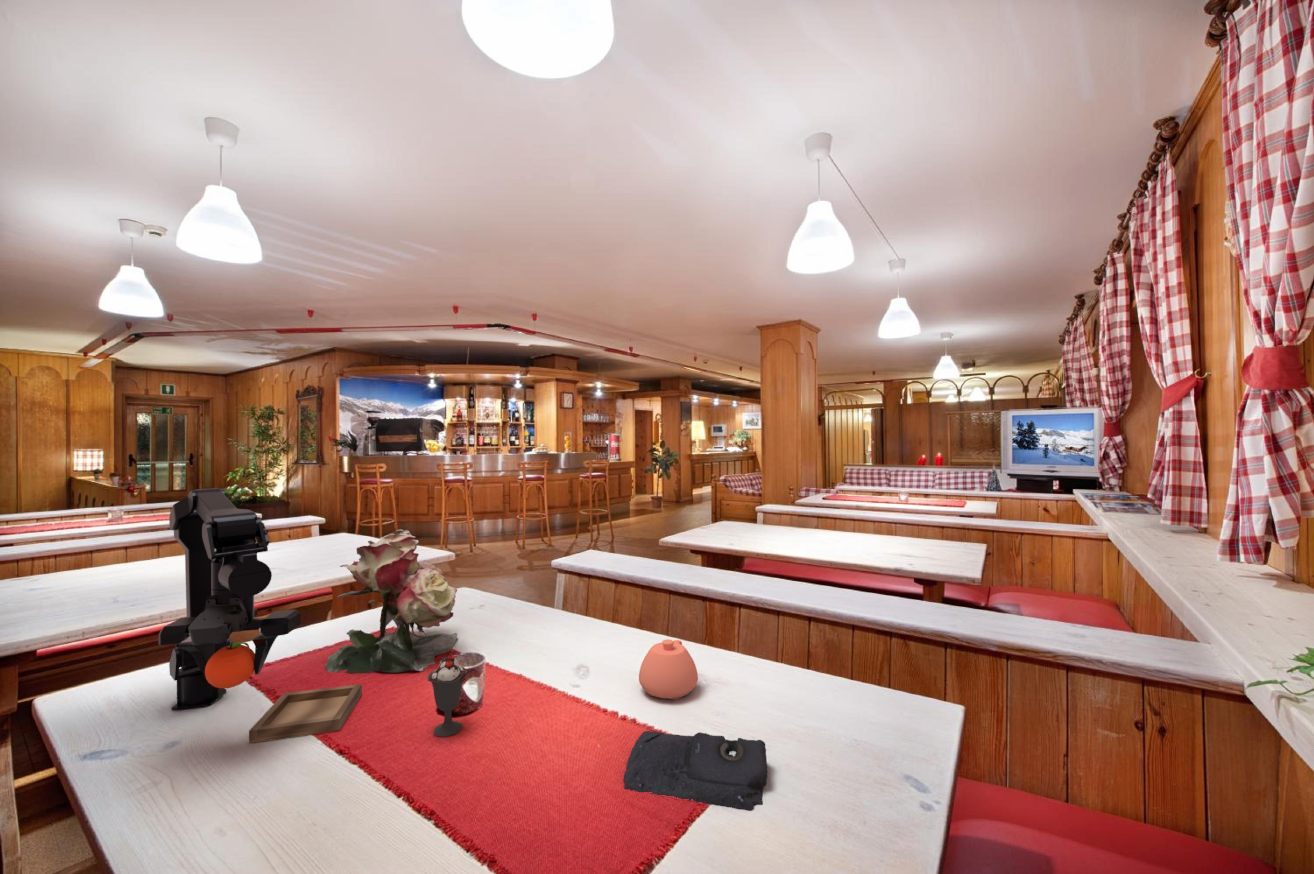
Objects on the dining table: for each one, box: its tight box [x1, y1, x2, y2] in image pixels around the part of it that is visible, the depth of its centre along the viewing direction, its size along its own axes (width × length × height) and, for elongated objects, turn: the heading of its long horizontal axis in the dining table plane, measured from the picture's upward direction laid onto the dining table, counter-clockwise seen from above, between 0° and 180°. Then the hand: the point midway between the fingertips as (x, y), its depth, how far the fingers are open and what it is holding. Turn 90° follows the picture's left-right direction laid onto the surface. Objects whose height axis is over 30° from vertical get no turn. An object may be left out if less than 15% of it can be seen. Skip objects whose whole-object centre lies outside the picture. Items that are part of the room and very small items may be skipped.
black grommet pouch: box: [623, 730, 768, 812], centre depth 82 cm, size 15×22×5 cm
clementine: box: [205, 642, 255, 689], centre depth 90 cm, size 8×7×7 cm
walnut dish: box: [248, 683, 363, 744], centre depth 99 cm, size 14×14×2 cm
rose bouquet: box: [323, 529, 458, 674], centre depth 130 cm, size 26×29×30 cm
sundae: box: [426, 648, 468, 738], centre depth 94 cm, size 7×7×15 cm
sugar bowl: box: [638, 638, 699, 701], centre depth 109 cm, size 12×14×10 cm
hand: (233, 675), depth 90 cm, fingers closed on clementine, 7 cm apart
